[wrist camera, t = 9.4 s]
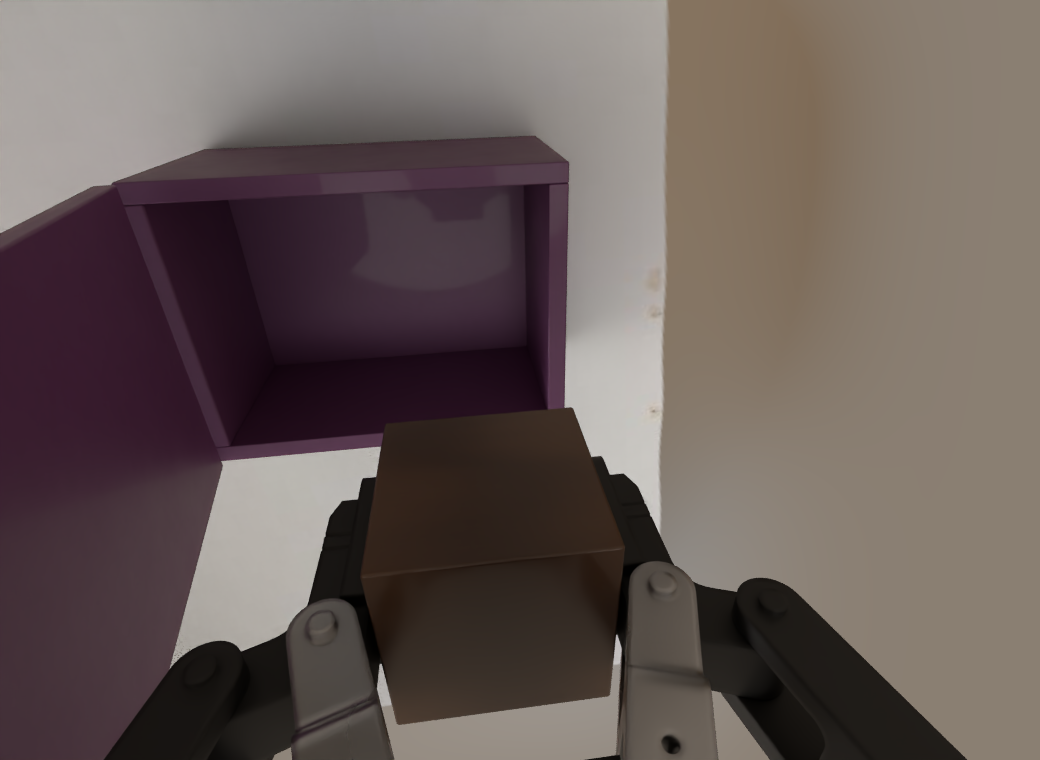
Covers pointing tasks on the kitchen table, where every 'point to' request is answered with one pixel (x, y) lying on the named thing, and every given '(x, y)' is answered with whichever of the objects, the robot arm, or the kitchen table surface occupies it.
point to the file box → (359, 284)
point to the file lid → (91, 481)
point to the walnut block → (491, 565)
